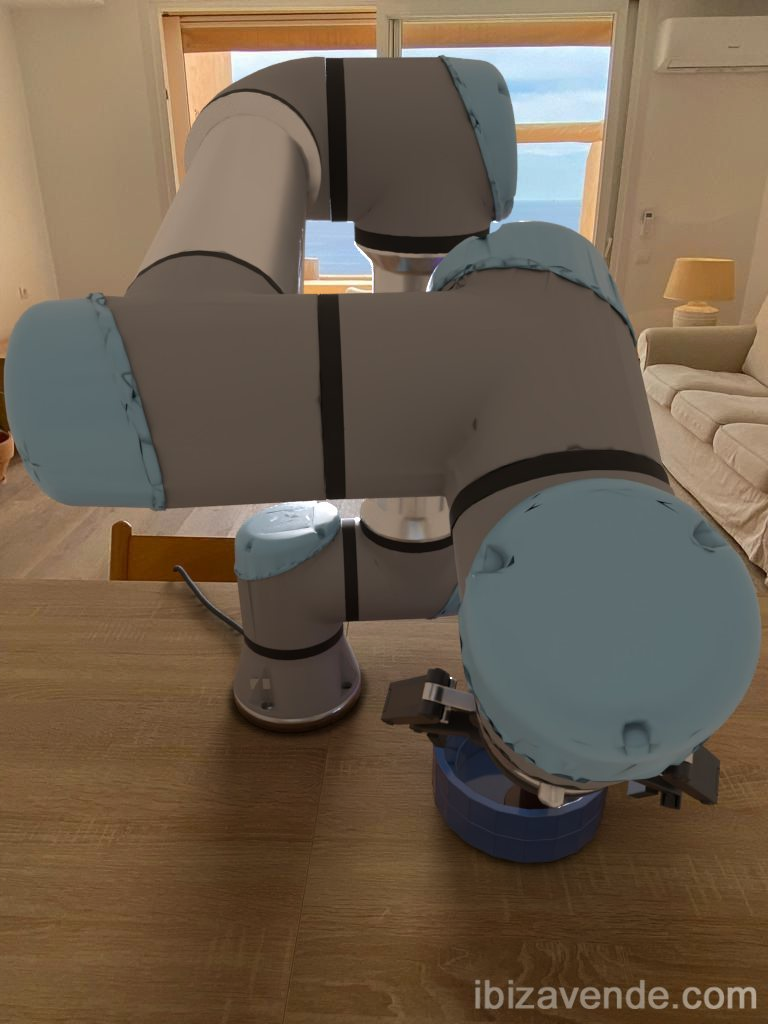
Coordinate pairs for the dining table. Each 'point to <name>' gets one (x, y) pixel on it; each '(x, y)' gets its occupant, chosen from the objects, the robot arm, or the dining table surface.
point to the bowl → (506, 809)
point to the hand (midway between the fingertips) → (536, 752)
